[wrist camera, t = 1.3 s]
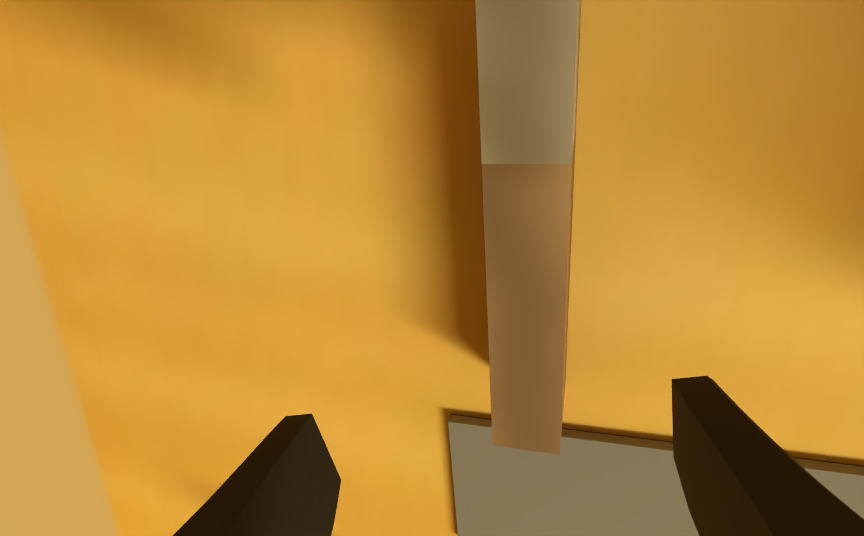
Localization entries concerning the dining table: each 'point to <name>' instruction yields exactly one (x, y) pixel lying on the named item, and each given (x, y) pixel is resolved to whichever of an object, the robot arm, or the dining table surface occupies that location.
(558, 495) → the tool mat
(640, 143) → the dining table surface
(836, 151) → the dining table surface
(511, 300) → the two-tone flat stick
